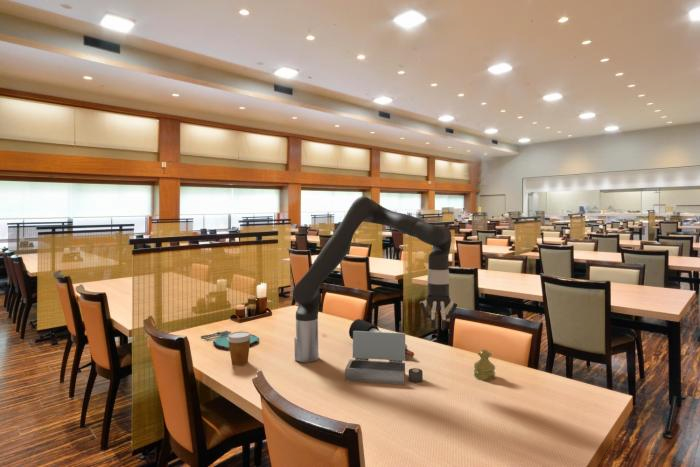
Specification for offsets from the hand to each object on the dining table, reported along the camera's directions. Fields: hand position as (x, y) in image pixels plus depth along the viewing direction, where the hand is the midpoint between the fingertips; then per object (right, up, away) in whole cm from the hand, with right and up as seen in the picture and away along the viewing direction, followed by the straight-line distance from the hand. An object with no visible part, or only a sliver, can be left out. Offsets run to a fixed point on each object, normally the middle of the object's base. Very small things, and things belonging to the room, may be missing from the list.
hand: (438, 329), depth 142 cm
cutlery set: (-89, -18, +49) cm, 103 cm away
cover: (-21, -9, +9) cm, 24 cm away
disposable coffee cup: (-77, -19, +20) cm, 81 cm away
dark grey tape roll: (-8, -19, +2) cm, 21 cm away
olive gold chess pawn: (+18, -19, +5) cm, 27 cm away
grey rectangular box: (-21, -19, +5) cm, 29 cm away
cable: (-17, -18, +35) cm, 43 cm away
